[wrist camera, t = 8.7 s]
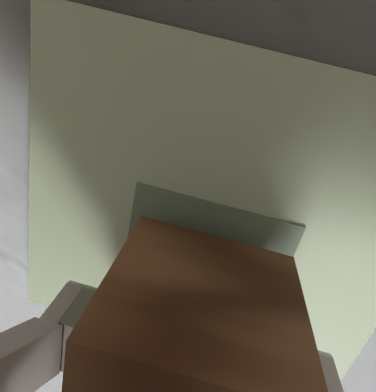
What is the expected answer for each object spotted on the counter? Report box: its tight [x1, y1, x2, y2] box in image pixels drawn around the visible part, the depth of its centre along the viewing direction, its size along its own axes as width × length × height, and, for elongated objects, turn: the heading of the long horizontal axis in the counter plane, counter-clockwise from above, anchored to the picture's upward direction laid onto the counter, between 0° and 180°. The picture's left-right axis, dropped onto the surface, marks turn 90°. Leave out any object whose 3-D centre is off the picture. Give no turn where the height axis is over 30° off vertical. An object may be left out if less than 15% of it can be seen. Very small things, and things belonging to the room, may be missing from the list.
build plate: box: [28, 0, 376, 381], centre depth 12 cm, size 14×12×1 cm
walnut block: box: [62, 216, 328, 392], centre depth 9 cm, size 5×5×5 cm
